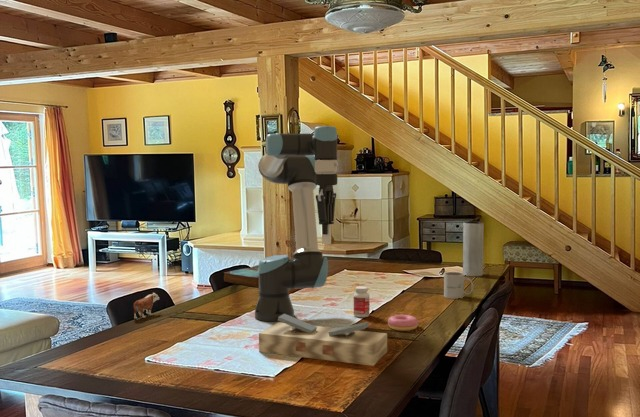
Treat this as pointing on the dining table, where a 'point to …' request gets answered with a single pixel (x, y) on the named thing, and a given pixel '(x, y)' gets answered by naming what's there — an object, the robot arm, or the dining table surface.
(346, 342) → the console
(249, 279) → the book
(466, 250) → the vase
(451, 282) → the mug
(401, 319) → the doughnut
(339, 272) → the dining table surface
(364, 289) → the pill bottle
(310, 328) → the rocker
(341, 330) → the rocker
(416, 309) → the dining table surface
